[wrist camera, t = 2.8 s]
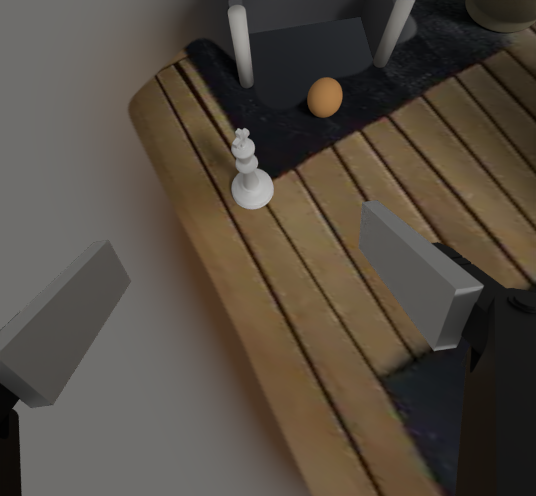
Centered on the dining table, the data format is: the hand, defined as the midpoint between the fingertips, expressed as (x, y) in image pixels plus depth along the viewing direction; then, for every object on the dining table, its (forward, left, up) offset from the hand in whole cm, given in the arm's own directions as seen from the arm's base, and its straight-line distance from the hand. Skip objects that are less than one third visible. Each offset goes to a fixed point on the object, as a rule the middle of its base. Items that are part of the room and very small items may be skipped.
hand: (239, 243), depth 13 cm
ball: (-15, -16, -12) cm, 25 cm away
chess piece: (-3, -10, -14) cm, 17 cm away
